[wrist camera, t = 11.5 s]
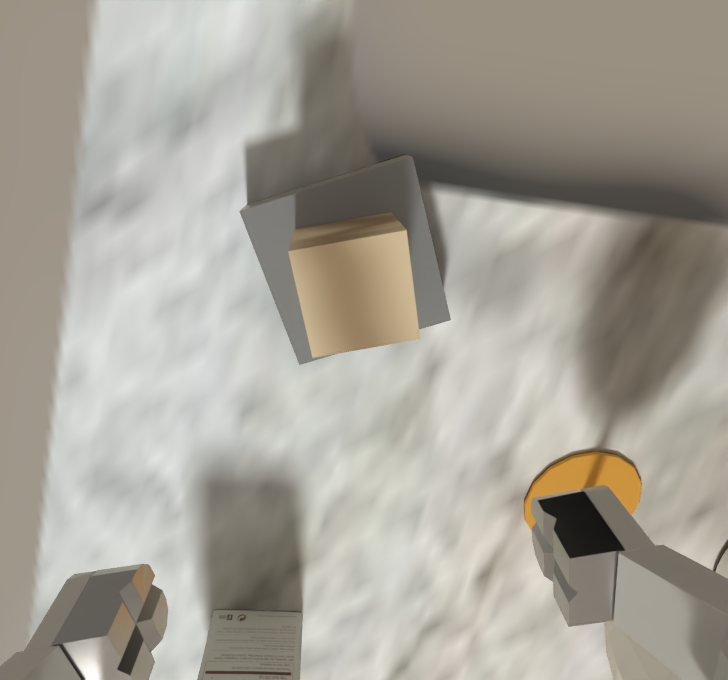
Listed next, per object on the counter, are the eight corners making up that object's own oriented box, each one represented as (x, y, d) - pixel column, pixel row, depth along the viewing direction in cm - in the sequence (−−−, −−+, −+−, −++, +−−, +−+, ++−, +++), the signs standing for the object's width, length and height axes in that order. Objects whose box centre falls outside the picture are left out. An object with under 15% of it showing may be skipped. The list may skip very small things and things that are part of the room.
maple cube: (391, 212, 24) (406, 230, 20) (403, 303, 26) (419, 338, 22) (295, 229, 24) (288, 251, 20) (314, 319, 26) (312, 358, 22)
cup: (655, 450, 35) (892, 679, 20) (623, 543, 38) (805, 795, 24) (535, 451, 34) (691, 689, 20) (513, 545, 38) (632, 808, 23)
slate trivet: (403, 154, 26) (412, 156, 23) (439, 302, 30) (450, 320, 27) (248, 203, 27) (239, 211, 24) (302, 343, 30) (299, 364, 27)
